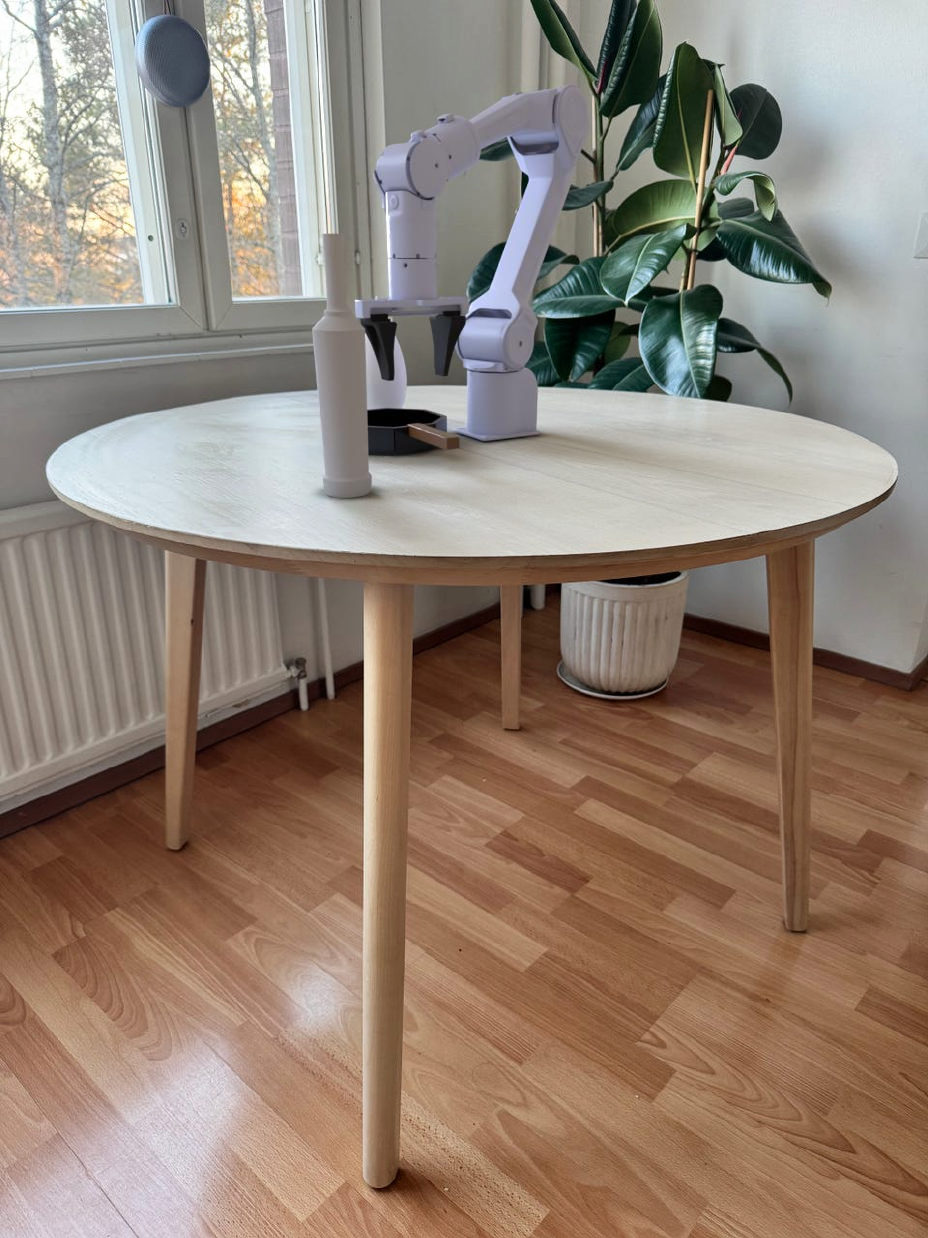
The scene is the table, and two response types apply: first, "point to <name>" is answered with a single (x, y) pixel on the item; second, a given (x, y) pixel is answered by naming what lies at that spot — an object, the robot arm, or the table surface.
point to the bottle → (341, 383)
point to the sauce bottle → (383, 390)
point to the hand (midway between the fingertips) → (415, 377)
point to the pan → (407, 431)
